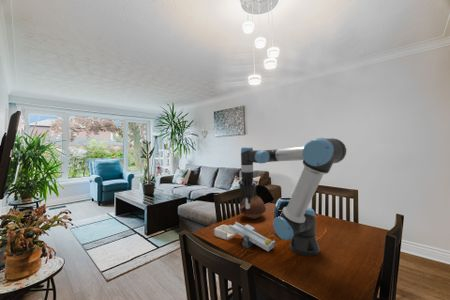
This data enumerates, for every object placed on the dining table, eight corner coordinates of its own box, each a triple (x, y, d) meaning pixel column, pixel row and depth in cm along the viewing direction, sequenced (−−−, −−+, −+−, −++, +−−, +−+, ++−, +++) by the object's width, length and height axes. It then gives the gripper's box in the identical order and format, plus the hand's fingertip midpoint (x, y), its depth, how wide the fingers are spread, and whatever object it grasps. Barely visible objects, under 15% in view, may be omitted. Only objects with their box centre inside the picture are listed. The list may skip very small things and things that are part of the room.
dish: (236, 234, 133) (235, 228, 133) (226, 240, 126) (226, 232, 126) (223, 230, 140) (223, 224, 140) (214, 235, 133) (213, 228, 133)
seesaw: (279, 242, 118) (280, 237, 118) (268, 251, 109) (269, 245, 108) (240, 222, 136) (241, 217, 136) (228, 228, 126) (229, 223, 126)
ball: (271, 245, 113) (273, 240, 112) (268, 248, 110) (270, 242, 110) (265, 241, 115) (267, 236, 114) (262, 243, 113) (264, 238, 112)
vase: (253, 212, 178) (252, 178, 178) (272, 217, 163) (271, 180, 163) (233, 219, 162) (232, 182, 162) (252, 226, 147) (251, 185, 147)
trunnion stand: (258, 241, 123) (258, 231, 123) (248, 248, 114) (247, 238, 114) (253, 239, 126) (252, 229, 126) (242, 246, 117) (242, 236, 117)
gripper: (259, 171, 127) (259, 208, 128) (242, 170, 136) (243, 205, 136) (252, 172, 122) (253, 211, 122) (235, 171, 130) (236, 207, 131)
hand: (247, 208), depth 129 cm, fingers closed
